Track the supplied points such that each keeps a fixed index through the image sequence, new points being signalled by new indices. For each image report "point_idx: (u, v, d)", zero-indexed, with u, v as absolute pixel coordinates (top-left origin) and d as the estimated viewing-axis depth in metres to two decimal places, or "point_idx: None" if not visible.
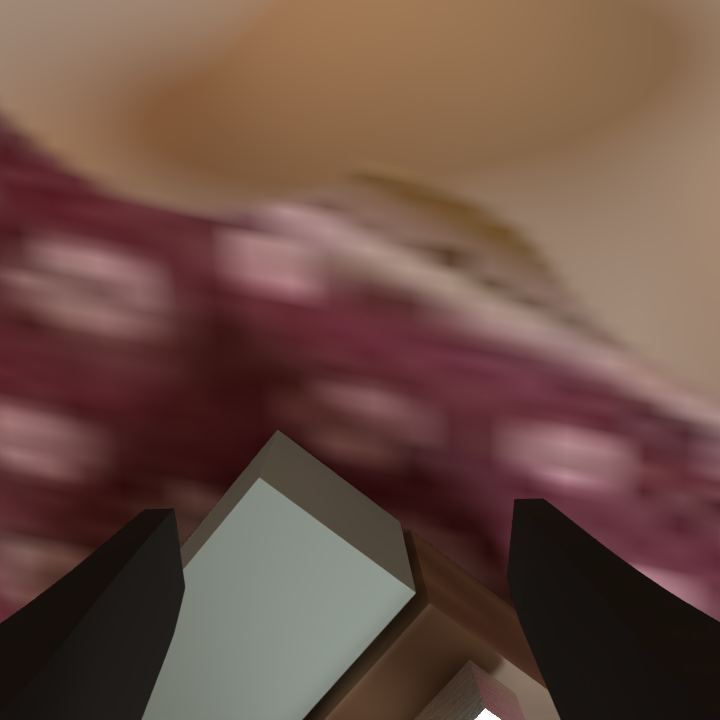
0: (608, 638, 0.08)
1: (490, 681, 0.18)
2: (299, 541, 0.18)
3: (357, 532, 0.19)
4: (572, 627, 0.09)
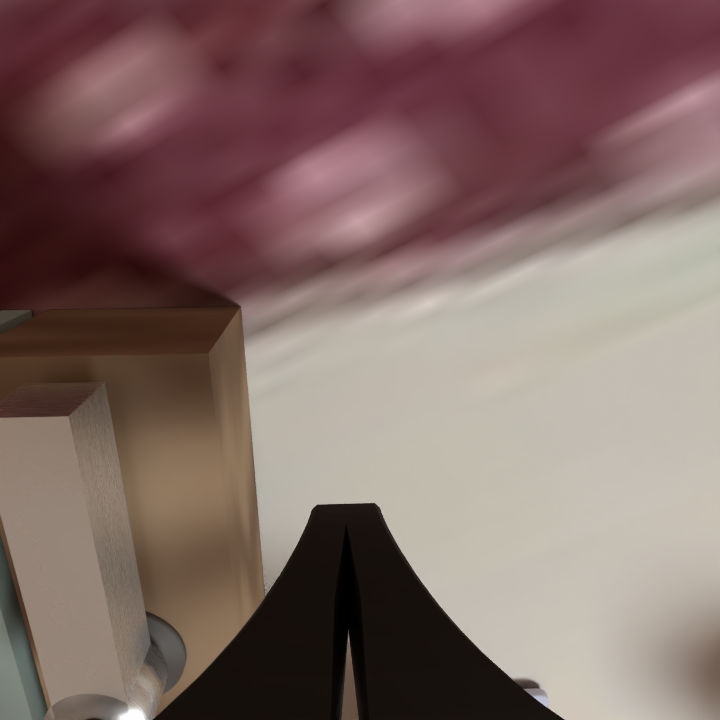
0: (362, 647, 0.08)
1: (48, 388, 0.14)
2: None
3: None
4: (358, 635, 0.09)
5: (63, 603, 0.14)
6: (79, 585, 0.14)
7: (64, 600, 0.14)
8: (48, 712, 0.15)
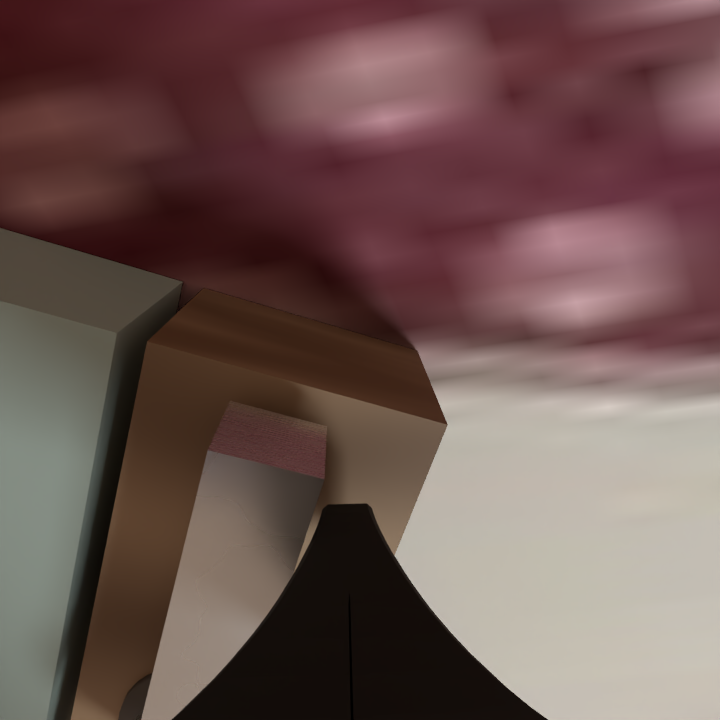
0: None
1: (266, 419, 0.11)
2: None
3: (23, 285, 0.12)
4: None
5: (201, 683, 0.11)
6: None
7: (204, 680, 0.11)
8: None
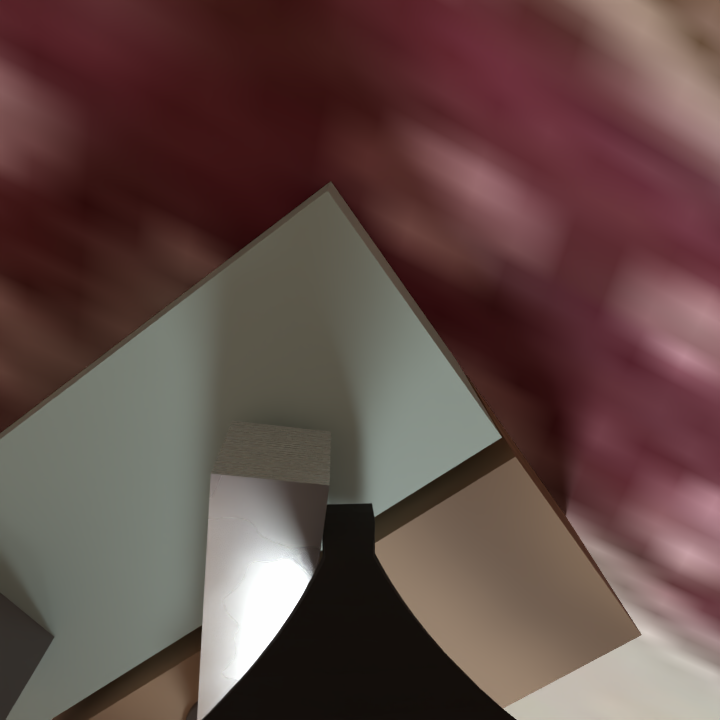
0: None
1: (269, 433, 0.11)
2: (360, 315, 0.11)
3: (433, 336, 0.13)
4: None
5: None
6: None
7: None
8: None
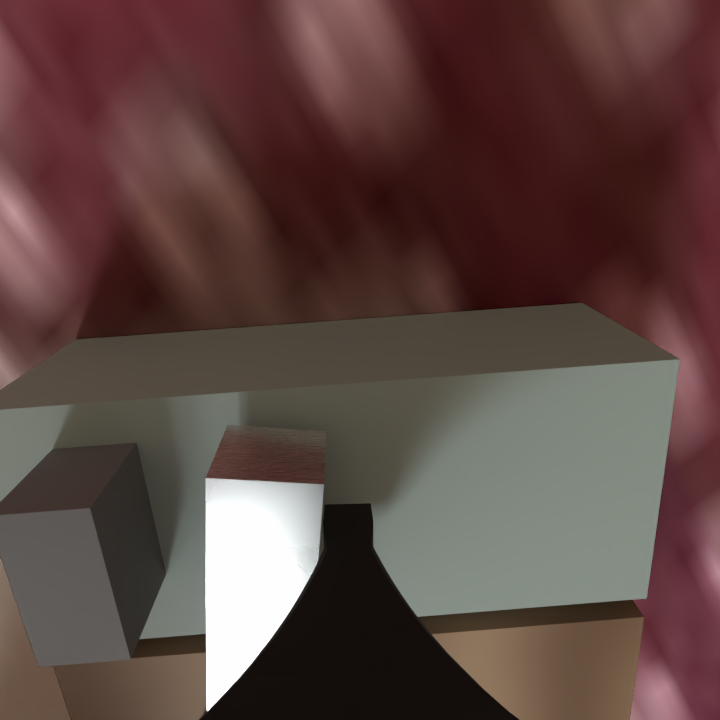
0: None
1: (264, 435, 0.11)
2: (626, 458, 0.13)
3: None
4: None
5: None
6: None
7: None
8: None
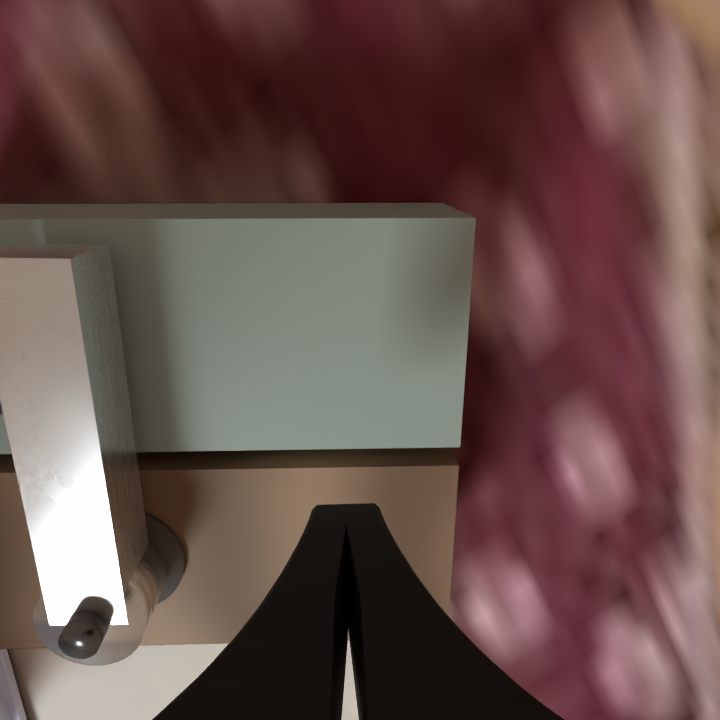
0: (363, 647, 0.08)
1: (48, 246, 0.13)
2: (435, 308, 0.15)
3: None
4: (358, 634, 0.09)
5: (58, 477, 0.13)
6: (76, 457, 0.13)
7: (60, 473, 0.13)
8: (39, 601, 0.14)
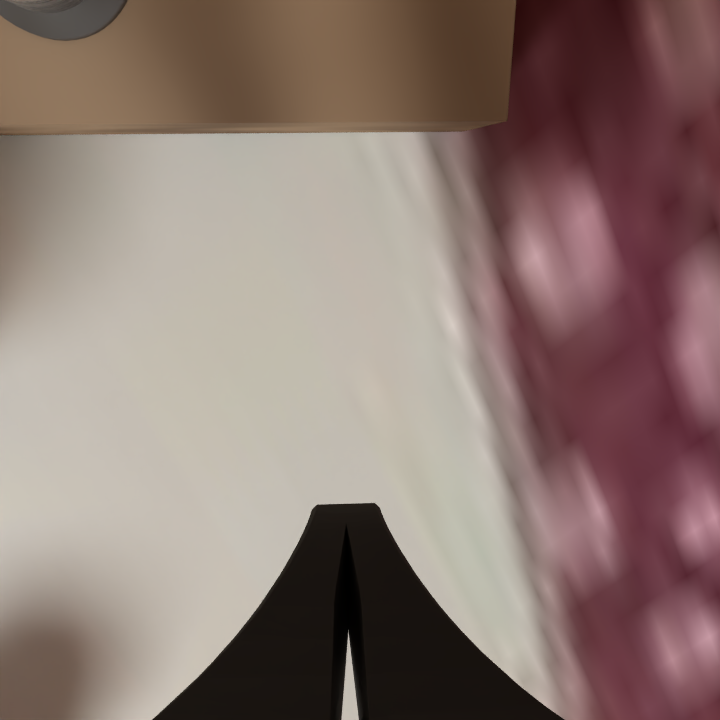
0: (362, 647, 0.08)
1: None
2: None
3: None
4: (358, 634, 0.09)
5: None
6: None
7: None
8: None
